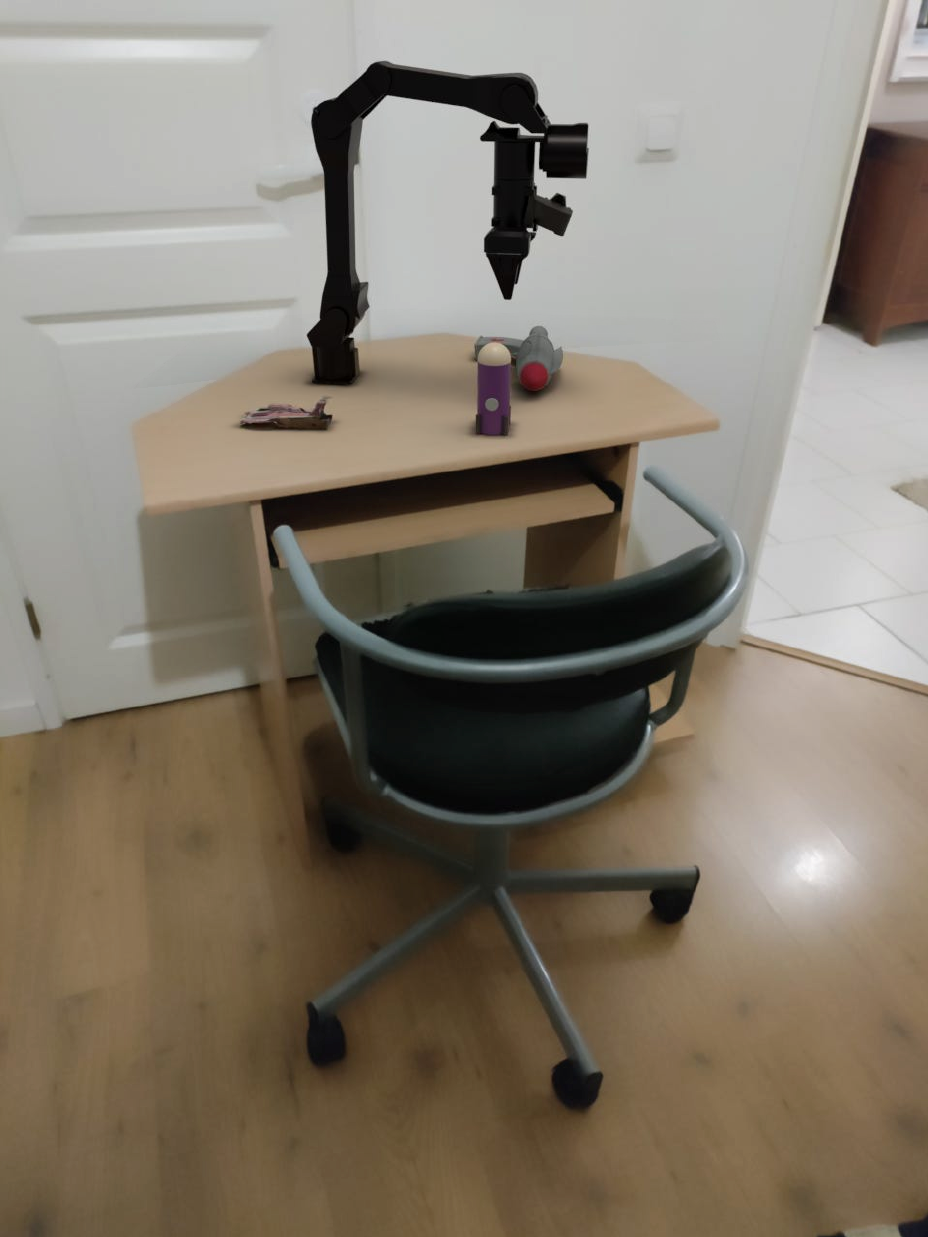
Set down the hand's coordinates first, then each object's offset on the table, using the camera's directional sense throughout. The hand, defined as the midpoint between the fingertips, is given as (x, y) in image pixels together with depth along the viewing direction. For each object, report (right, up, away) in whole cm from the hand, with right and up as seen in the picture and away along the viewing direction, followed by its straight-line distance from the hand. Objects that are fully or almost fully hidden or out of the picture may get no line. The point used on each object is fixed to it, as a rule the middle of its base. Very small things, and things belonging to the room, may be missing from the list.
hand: (511, 291), depth 135 cm
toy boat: (-33, -21, -5) cm, 39 cm away
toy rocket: (-3, -22, -7) cm, 23 cm away
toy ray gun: (+1, -9, +13) cm, 16 cm away
